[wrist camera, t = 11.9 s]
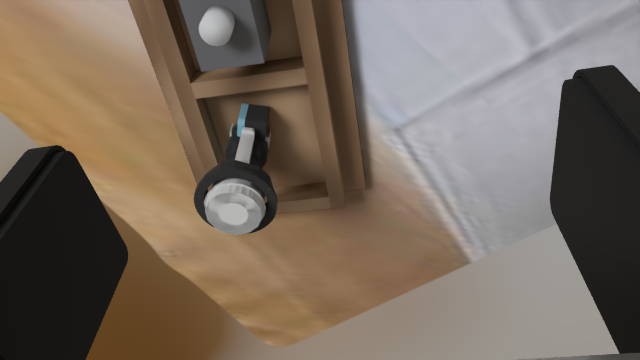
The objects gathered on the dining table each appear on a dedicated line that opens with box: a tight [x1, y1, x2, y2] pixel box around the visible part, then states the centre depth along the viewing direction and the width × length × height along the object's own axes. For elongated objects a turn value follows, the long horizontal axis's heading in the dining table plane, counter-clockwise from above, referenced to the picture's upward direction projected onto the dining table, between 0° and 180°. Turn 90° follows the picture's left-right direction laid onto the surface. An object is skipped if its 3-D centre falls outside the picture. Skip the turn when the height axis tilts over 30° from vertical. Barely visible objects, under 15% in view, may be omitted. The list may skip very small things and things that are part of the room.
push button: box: [194, 103, 278, 235], centre depth 37 cm, size 7×5×10 cm
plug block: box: [179, 0, 272, 72], centre depth 32 cm, size 4×6×7 cm, turn 9°
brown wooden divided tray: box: [128, 0, 366, 214], centre depth 38 cm, size 14×24×3 cm, turn 9°
